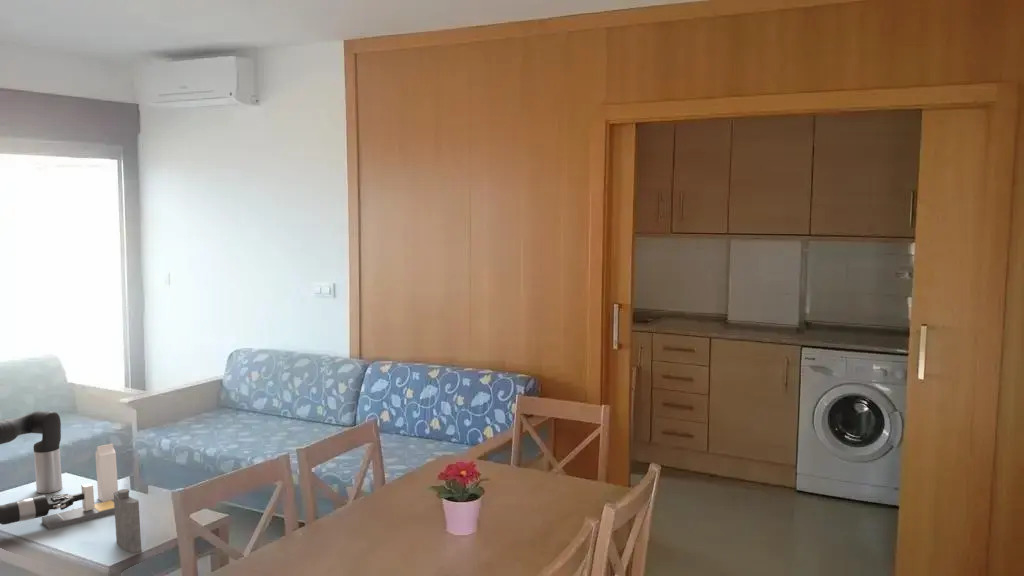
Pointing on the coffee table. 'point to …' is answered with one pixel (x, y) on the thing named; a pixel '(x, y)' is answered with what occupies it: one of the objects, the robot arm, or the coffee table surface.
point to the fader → (88, 497)
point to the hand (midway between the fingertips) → (83, 496)
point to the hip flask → (127, 521)
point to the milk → (106, 472)
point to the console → (78, 515)
